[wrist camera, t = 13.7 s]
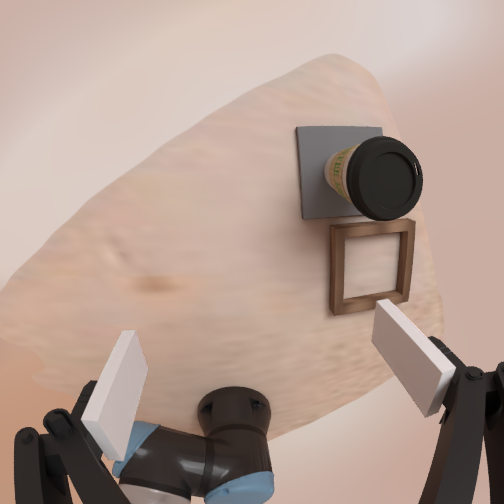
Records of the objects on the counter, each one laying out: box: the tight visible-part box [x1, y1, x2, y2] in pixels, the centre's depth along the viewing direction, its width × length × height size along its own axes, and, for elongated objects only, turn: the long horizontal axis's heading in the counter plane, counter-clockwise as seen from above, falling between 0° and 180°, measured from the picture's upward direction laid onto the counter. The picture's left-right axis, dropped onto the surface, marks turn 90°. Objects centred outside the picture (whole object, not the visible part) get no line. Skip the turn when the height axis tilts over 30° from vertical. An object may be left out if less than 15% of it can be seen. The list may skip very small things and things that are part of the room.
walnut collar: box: [330, 218, 416, 316], centre depth 49 cm, size 15×15×2 cm
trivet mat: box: [296, 126, 383, 220], centre depth 44 cm, size 14×14×1 cm
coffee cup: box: [324, 136, 423, 221], centre depth 36 cm, size 10×10×15 cm
